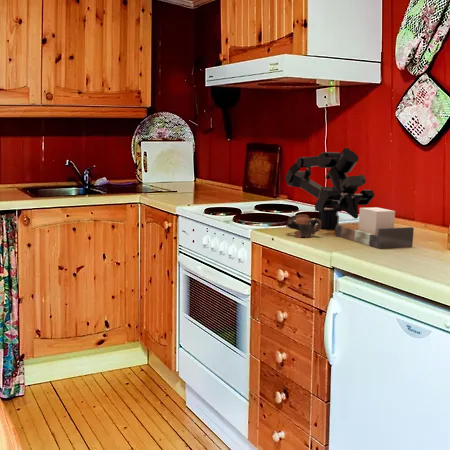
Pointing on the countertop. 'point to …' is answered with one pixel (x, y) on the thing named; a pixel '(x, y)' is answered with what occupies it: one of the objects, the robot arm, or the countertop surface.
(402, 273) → the countertop surface
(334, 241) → the countertop surface
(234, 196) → the countertop surface
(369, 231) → the block
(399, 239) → the box
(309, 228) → the pottery mug
